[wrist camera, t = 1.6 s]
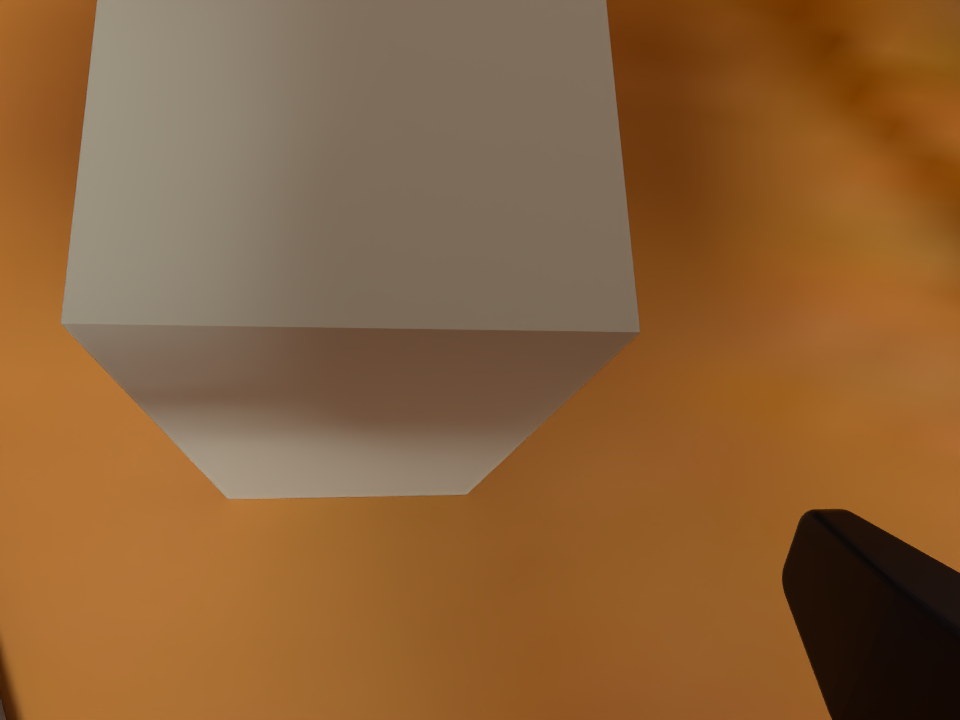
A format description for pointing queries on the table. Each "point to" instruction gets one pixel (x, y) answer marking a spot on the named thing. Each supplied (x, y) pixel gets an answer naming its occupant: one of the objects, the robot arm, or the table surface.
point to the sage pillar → (350, 232)
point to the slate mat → (2, 712)
